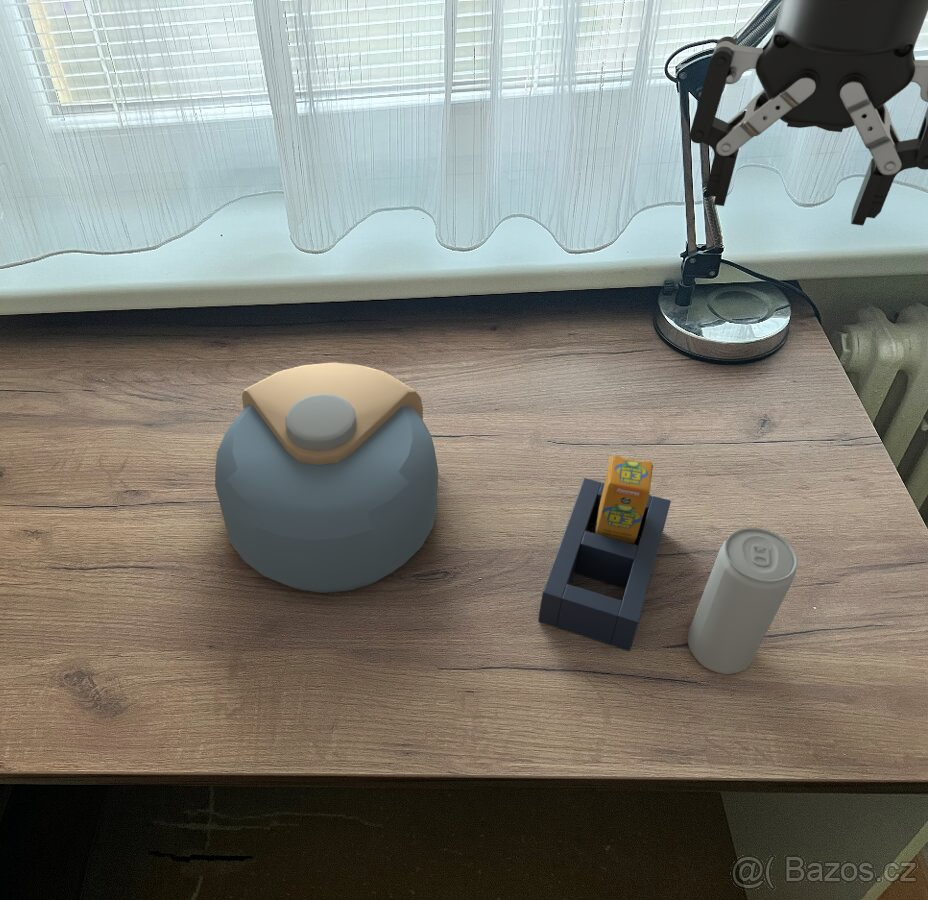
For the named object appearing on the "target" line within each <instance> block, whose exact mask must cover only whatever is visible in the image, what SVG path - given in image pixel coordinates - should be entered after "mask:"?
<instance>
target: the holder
mask: <svg viewBox="0 0 928 900" xmlns="http://www.w3.org/2000/svg"><path fill="white" fill-rule="evenodd" d="M604 484H605V482H601V481H597V480H595V479H591V478H586V477H584V478H583V479H582V482H581V484H580V487H579V491H578V493H577V496H576V499H575V501H574V505H573V507H572V511H571V513H570V516H569V518H568V521H567V524H566V526H565V529H564V532H563V535H562V537H561V541H560V543H559V546H558V548H557V552H556V555H555V557H554V560H553V563H552V565H551V568H550V571H549V574H548V577H547V578H546V582H545V584H544V588H543V590H542V595H541V600H540V607H539V613H538V622H539V623H542V624H545V625H548V626H552V627H555V628H558V629H560V630H564V631H566V632H570V633H573V634H576V635H579V636H582V637H585V638H587V639H591V640H593V641H597V642H601V643H603V644H607V645H610V646H612V647H616V648H618V649H622V650H625V651H628V652H630V651H631V648H632V645H633V642H634V639H635V636H636V632H637V629H638V625H639V623H640V619H641V616H642V612H643V608H644V603H645V600H646V596H647V593H648V588H649V585H650V581H651V578H652V573H653V571H654V567H655V563H656V559H657V555H658V551H659V548H660V543H661V539H662V537H663V532H664V529H665V525H666V521H667V517H668V514H669V510H670V507H671V503H672V500H670V499H667V498H663V497H659V496H655V495H651V494H649V497H648V501H647V504H646V507H645V511H644V514H643V517H642V521H641V524H640V528H639V531H638V535H637V538H639V541H638V545H637V544H635V545H634V544H630V543H627V542H623V541H620V540H616V539H613V538H609V537H606V536H602V535H599V534H595V533H593V532H591V531H590V529H591V527H592V526H595V523H596V519H597V514H598V510H599V505H600V501H601V497H602V492H603V488H604ZM576 574H577V575H580V576H582V577H586V578H589V579H592V580H596V581H599V582H602V583H605V584H608V585H611V586H615V587H618V588H622V589H625V590H624V593H623V597H622V600H621V599H618V598H614V597H611V596H608V595H606V594H605V595H604V594H602V593H598V592H595V591H593V590H592V591H591V590H589V589H585V588H582V587H579V586H576V585H572V583H573V580H574V577H575V575H576Z"/></svg>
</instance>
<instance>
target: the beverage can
mask: <svg viewBox="0 0 928 900" xmlns="http://www.w3.org/2000/svg"><path fill="white" fill-rule="evenodd" d="M798 562H799V559H798V556H797V551H796V550H795V549H794V547H793V546H792V544H790V542H789V541H787V539H786V538H785V537H782V536H781V535H780V534H778V533H776V532H774V531H771V530H769V529H765V528H762V527H743V528H739V529H736V530H735V531H733V532H732V533H730V534H729V535H728V536H727V538H726V539H725V540H724V541H723V543H722V544H721V547H719V551H718V553H717V556H716V559H715V561H714V564H713V567H712V569H711V572H710V574H709V577H708V580H707V582H706V585H705V587H704V591H703V593H702V596H701V598H700V600H699V604H698V606H697V609H696V610H695V614H694V616H693V619H692V621H691V624H690V627H689V630H688V632H687V638H686V640H687V645H688V648H689V651H690V652H691V655H693V657H694V658H695V659H696V661H697V662H698V663H699V664H700V665H702V666H703V668H705V669H708V670H710V671H711V672H715V673H718V674H723V675H724V674H725V675H731V674H737V673H739V672H742V671H744V670H746V669H747V668H748V667H749V666H750V665H751V663H752V661H753V660H754V658H755V656H756V654H757V652H758V650H759V648H760V646H761V644H762V642H763V640H764V638H765V636H766V634H767V633H768V631H769V629H770V627H771V625H772V623H773V621H774V619H775V617H776V615H777V613H778V611H779V609H780V607H781V605H782V603H783V602H784V599H785V598H786V596H787V594H788V592H789V589H790V587H791V585H792V583H793V581H794V579H795V577H796V575H797V568H798V564H799V563H798Z"/></svg>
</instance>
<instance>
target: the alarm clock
mask: <svg viewBox="0 0 928 900" xmlns="http://www.w3.org/2000/svg"><path fill="white" fill-rule="evenodd" d="M241 398H242V408H243V409H242V410H241V412H240V413H238V415H237V416H236V417H235V419H234V420H233V422H232V423H231V424H230V425H229V427H228V428H227V429H226V431H225V433H224V435H223V437H222V440H221V442H220V445H219V447H218V449H217V451H216V459H215V471H214V487H215V491H216V494H217V499H218V504H219V507H220V510H221V514H222V518H223V522H224V526H225V529H226V532H227V536H228V539H229V543H230V544H231V545H232V547H233V548H234V549H235V551H236V552H237V554H238V555H239V556H240V558H241V559H242V561H243V562H245V564H247V565H249V566H250V567H251V568H253V569H254V570H255V571H257V572H258V573H259V574H260V575H262V576H263V577H266V578H268V579H271V580H273V581H275V582H278V583H279V584H282V585H285V586H288V587H290V588H293V589H296V590H300V591H308V592H315V593H321V594H323V593H324V594H325V593H336V592H337V593H338V592H348V591H352V590H355V589H358V588H362V587H366V586H369V585H372V584H374V583H377V582H378V581H379V580H382V579H383V578H385V577H387V576H388V575H390V574H392V573H394V572H396V570H397V569H399V568H400V567H402V566H404V565H405V564H406V563H407V562H408V561H409V560H410V559H411V558H412V557H413V556H414V555H415V554H416V553H417V552H418V551H419V550H420V549H421V548H422V547H423V545H424V543H425V541H426V540H427V539H428V537H429V534H430V533H431V531H432V529H433V528H434V524H435V519H436V515H437V508H438V497H439V496H438V493H439V491H438V489H439V488H438V487H439V486H438V484H439V482H438V479H439V478H438V477H439V468H438V461H437V455H436V447H435V445H434V441H433V436H432V434H431V432H430V430H429V428H428V427H427V425H426V423H425V422H424V407H423V401H422V396H420V394H419V393H418V392H417V391H416V390H415V389H414V388H412V387H411V386H409V385H407V384H405V383H404V382H402V381H401V380H399V379H397V378H395V377H394V376H393V375H391V374H389V373H387V372H386V371H383V370H380V369H376V368H372V367H368V366H365V365H361V364H353V363H342V362H323V363H312V364H303V365H299V366H295V367H290V368H287V369H283V370H279V371H277V372H275V373H273V374H271V375H269V376H268V377H265V378H264V379H261V380H260V381H258V382H255V383H254V384H252V385H250V386H248V387H245V388H244V389H243V391H242V395H241Z"/></svg>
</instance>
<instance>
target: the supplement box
mask: <svg viewBox="0 0 928 900" xmlns="http://www.w3.org/2000/svg"><path fill="white" fill-rule="evenodd" d="M608 459H609V460H608V466H607V471H606V475H605V480H604V483H605V484H604V488H603V492H602V497H601V501H600V505H599V510H598V514H597V519H596V523H595V525H594V527H593V531H592V533H595V534H599V535H602V536H606V537H609V538H613V539H616V540H620V541H623V542H627V543H630V544H634V545H636V541H637V538H638V537H637V535H638V531H639V528H640V524H641V521H642V517H643V514H644V511H645V507H646V504H647V501H648V497H649V495H650V493H651V485H652V479H653V471H654V470H653V469H654V464H653V461H649V460H643V461H642V460H636V459H632V458H625V457H622V456H619V455H615V454H613V455H610V456H609V458H608Z"/></svg>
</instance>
